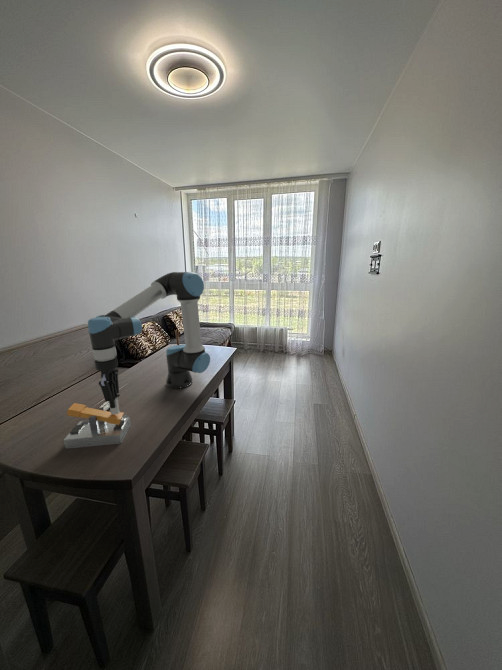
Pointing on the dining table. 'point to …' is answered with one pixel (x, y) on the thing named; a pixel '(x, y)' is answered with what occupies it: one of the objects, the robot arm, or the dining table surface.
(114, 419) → the lever
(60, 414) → the dining table surface
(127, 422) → the grey bracketed base
